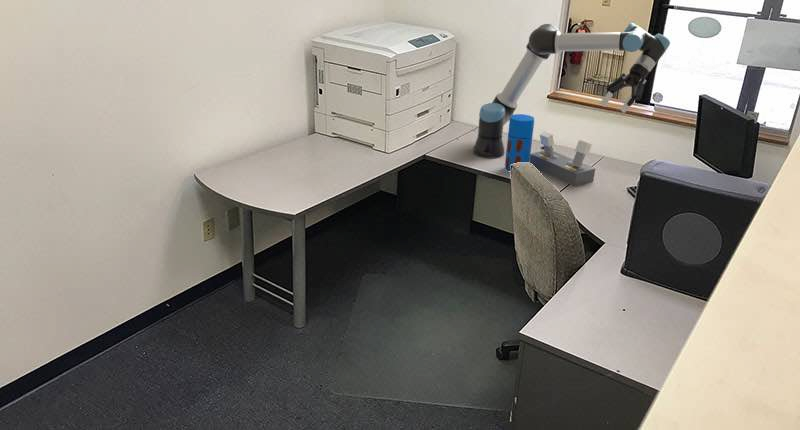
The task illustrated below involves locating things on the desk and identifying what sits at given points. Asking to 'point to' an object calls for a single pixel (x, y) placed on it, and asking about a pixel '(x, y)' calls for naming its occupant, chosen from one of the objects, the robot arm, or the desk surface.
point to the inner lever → (547, 142)
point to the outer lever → (581, 152)
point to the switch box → (562, 168)
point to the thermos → (519, 139)
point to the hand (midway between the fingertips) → (611, 108)
